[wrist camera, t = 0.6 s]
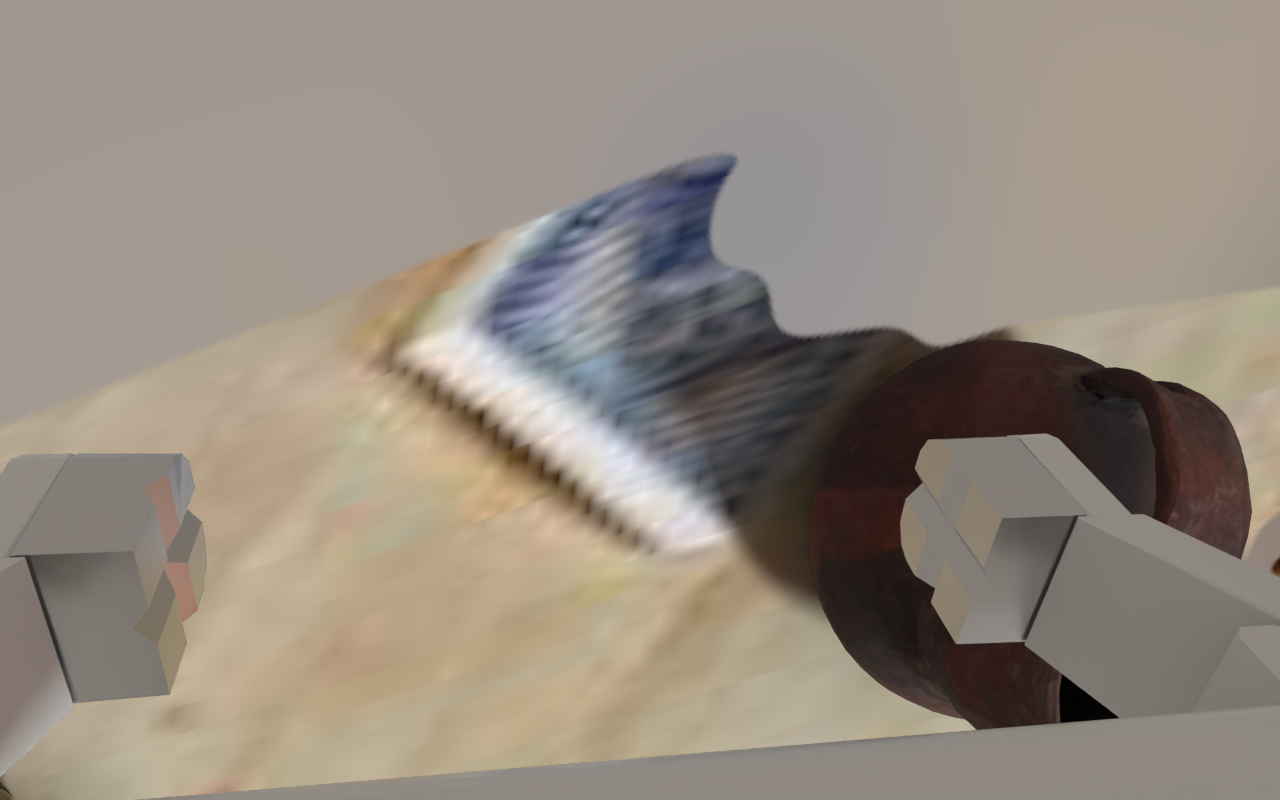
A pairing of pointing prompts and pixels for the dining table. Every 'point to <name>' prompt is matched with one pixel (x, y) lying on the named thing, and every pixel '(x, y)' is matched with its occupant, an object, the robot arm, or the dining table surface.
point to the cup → (5, 795)
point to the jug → (999, 407)
